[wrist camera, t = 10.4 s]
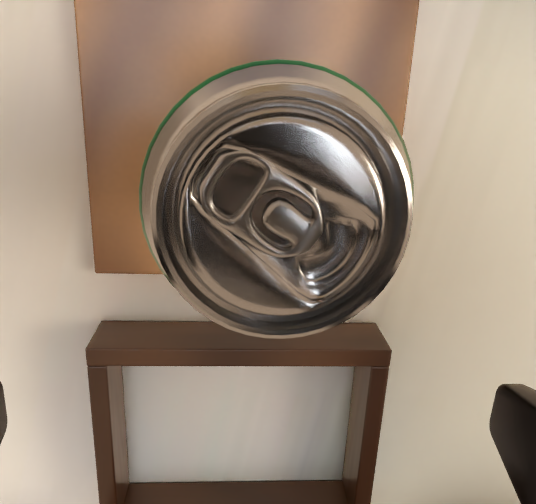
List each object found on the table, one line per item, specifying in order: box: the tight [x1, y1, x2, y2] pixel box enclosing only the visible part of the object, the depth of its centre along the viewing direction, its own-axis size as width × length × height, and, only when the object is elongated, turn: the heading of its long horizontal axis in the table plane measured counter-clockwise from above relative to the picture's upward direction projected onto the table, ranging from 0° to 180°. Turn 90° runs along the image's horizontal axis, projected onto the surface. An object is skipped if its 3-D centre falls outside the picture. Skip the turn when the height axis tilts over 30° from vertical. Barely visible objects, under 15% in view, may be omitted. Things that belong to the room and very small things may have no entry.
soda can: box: [139, 59, 414, 339], centre depth 14 cm, size 5×5×12 cm
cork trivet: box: [74, 0, 419, 274], centre depth 19 cm, size 12×12×1 cm
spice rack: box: [86, 321, 392, 504], centre depth 21 cm, size 13×10×7 cm
